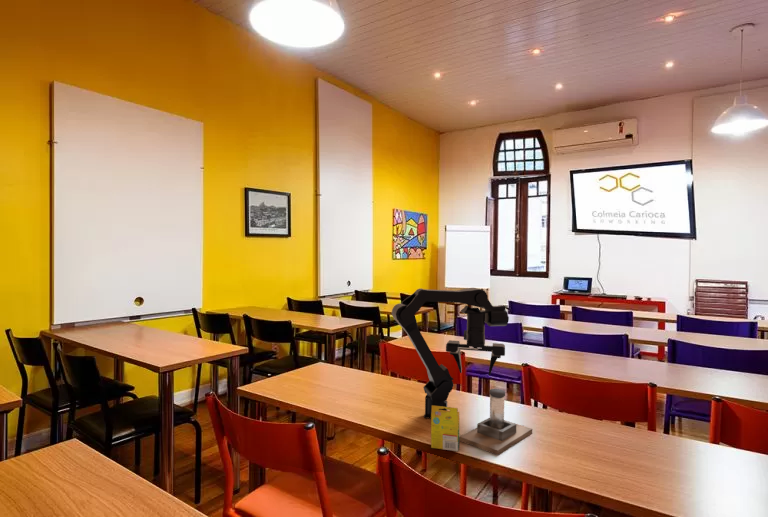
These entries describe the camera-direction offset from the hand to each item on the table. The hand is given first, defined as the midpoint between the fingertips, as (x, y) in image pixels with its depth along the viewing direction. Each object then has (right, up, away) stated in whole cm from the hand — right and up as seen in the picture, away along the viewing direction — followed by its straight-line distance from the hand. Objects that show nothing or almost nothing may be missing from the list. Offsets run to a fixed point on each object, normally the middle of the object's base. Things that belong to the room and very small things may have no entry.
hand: (475, 373), depth 145 cm
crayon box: (-13, -14, -25) cm, 32 cm away
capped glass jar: (+3, -12, -18) cm, 22 cm away
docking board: (+3, -14, -18) cm, 22 cm away
